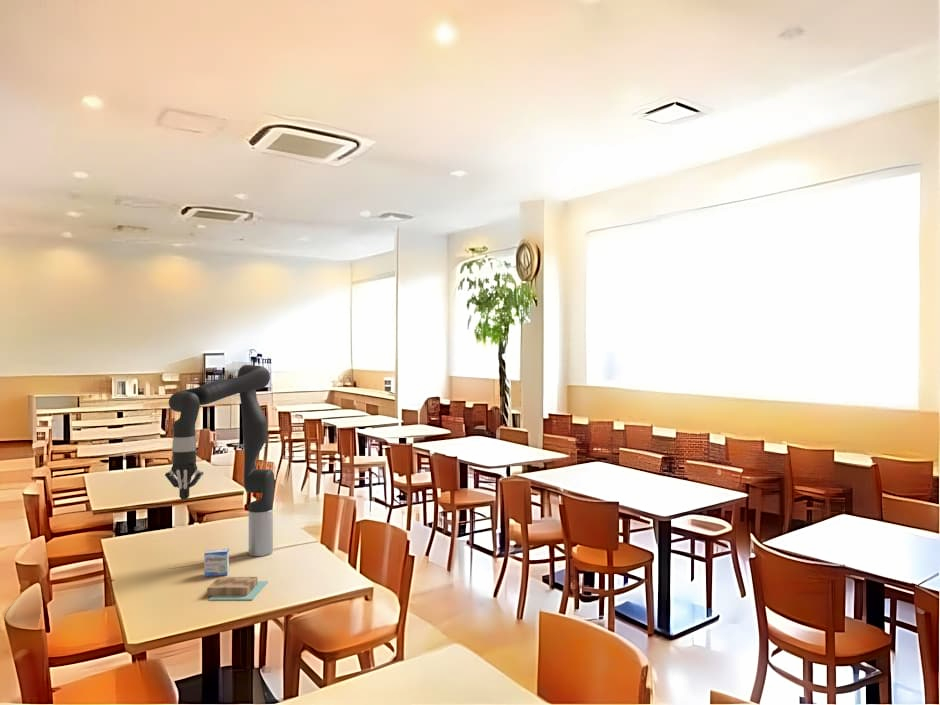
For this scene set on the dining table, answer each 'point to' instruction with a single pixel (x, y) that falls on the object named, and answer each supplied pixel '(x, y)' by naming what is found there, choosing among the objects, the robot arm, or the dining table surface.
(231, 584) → the wooden block
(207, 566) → the medicine box
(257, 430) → the robot arm
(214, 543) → the dining table surface
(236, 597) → the mat
